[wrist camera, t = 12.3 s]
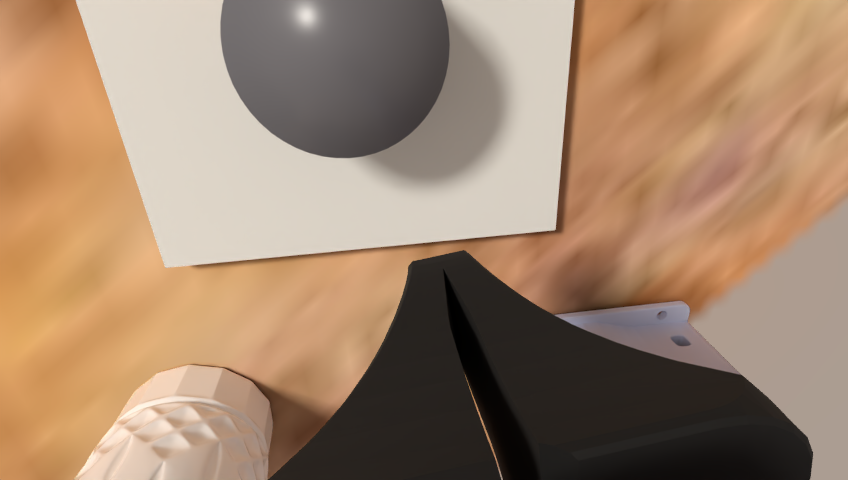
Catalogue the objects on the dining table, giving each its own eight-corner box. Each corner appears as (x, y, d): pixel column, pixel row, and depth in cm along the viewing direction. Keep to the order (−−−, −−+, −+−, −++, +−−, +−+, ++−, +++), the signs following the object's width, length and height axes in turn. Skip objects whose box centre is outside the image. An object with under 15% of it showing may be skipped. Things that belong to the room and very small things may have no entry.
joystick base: (584, -275, 14) (616, -313, 12) (547, 220, 21) (564, 240, 20) (4, -271, 13) (-52, -313, 11) (173, 255, 20) (156, 280, 18)
